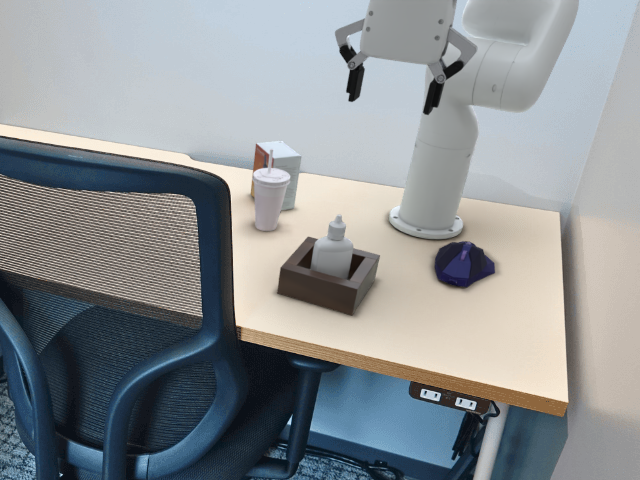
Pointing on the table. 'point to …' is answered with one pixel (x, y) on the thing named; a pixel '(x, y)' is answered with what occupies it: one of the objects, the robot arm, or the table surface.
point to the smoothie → (269, 195)
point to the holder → (327, 279)
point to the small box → (279, 166)
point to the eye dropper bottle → (333, 251)
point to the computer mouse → (462, 264)
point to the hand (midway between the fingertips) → (389, 105)
